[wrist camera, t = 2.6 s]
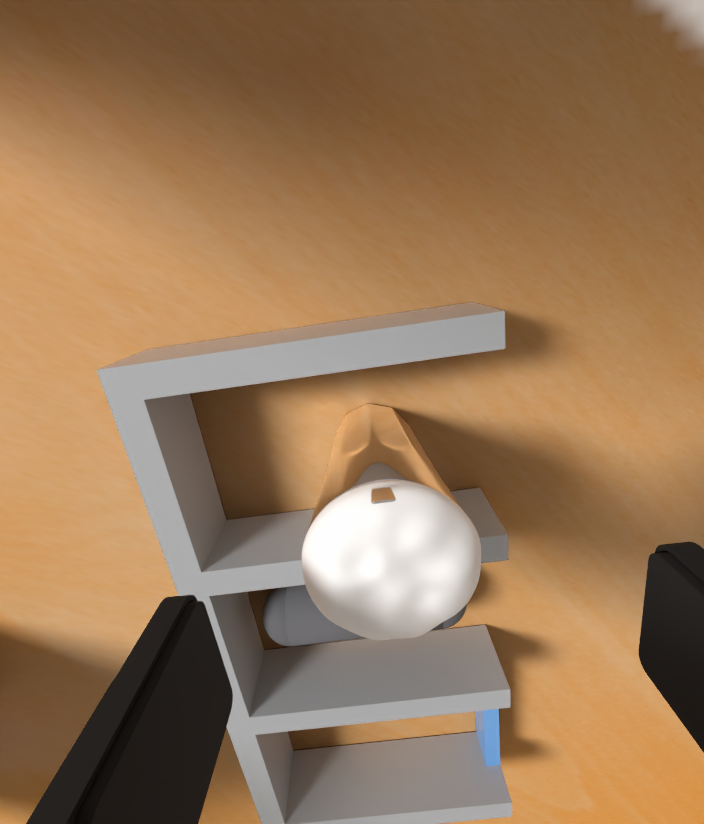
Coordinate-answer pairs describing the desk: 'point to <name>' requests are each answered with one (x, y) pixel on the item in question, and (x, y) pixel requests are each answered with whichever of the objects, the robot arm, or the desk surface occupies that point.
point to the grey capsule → (308, 619)
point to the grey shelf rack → (282, 567)
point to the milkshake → (387, 534)
